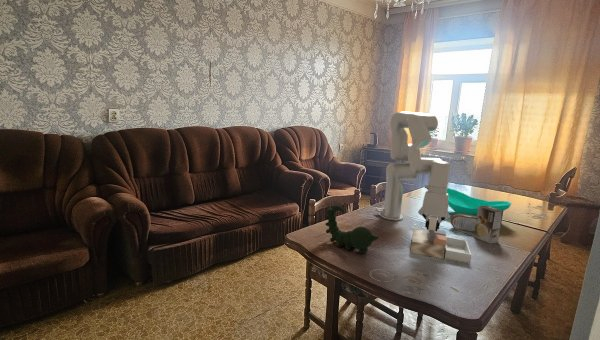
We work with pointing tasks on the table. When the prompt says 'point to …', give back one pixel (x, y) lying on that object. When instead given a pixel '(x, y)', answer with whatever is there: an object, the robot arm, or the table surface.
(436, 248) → the wood grain block
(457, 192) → the table top decor
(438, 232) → the tile slate
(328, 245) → the table surface
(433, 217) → the scraper
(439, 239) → the tile terracotta
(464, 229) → the tin
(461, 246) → the box
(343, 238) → the toy figurine
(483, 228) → the coffee box
